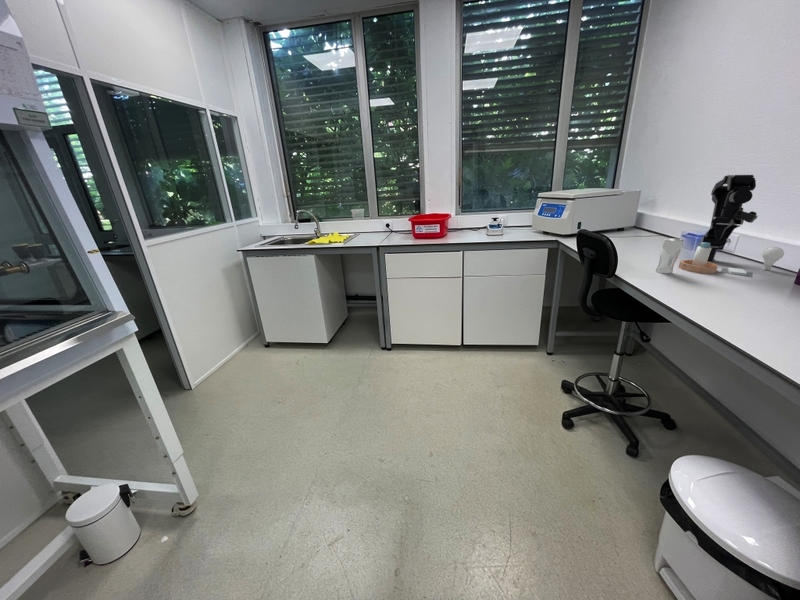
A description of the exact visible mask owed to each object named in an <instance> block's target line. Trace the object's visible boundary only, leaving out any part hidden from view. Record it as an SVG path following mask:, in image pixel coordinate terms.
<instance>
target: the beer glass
mask: <svg viewBox="0 0 800 600" xmlns="http://www.w3.org/2000/svg"><path fill="white" fill-rule="evenodd" d="M684 242H685V241H684V239H681V238H676V237H674V238H673V237H665V238H664V240H663V242H662V244H661V248H660V252H659V262H658V265H657V266H656V268H655V272H656V273H659V274H663V273H664V275H665V274H666V275H672V274H673V270H674V266H675V263H676V261H677V259H679V256H680V254H681V253H682V252H681V251H682V249H683V245H684ZM671 273H672V274H671Z"/></svg>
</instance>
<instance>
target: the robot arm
mask: <svg viewBox="0 0 800 600" xmlns="http://www.w3.org/2000/svg"><path fill="white" fill-rule="evenodd" d="M756 181H757V180H756V178H755V177H754V174H731V175H730V174H728V175H724V177H723V178H722V179H721V180H719V181H718V182H716V183H715V184H714V186H713V187H712V190H711V192H710V195H711V202H713V203H714V207H713V211H712V216H711V221H710V227H709V229H708V230H707V231H706V233H705V234H704V235H703V236H702V238H701V239H700V241H699V243H698V246H701V243H702V242H706V243H711V244H710V247H711V248H712V249H711V252H710V254H709V257H708V260H707V262H710V263H714V262H715V256H716V254H717V252H718V250H720V251H723V250H724V247H725V245H726V244H727V243H728V239H729V238H730V236H731V235H732V234H733V232H734V230H735V229H737V228H739V227H741V226H742V225H743V224H744V221H745V223H746V222H747V223H749V224H753V223H754V222H755V220H757V218H759V217H758V215H757V212H756V211H753V210H752V211H750V212H747V211H744V207H743V204H745V203H748V202H750V201H751V200H752V198H753V192H752V191H754V190H755V188H756V186H757V183H756ZM698 246H697V247H698Z"/></svg>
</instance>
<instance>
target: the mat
mask: <svg viewBox="0 0 800 600" xmlns="http://www.w3.org/2000/svg"><path fill="white" fill-rule="evenodd" d="M745 271H746V270H745ZM720 273H721V274H727V275H733V276H739V277H745V278H746V277H747V278H753V276H754V275H753V274H754V271H746V273H747V275H738V274H730V272H729V271H728V268H725V267H722V268H721V270H720Z"/></svg>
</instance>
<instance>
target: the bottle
mask: <svg viewBox="0 0 800 600" xmlns="http://www.w3.org/2000/svg"><path fill="white" fill-rule="evenodd" d="M710 244H711V243H706V242H702V243H701V246H697V247H696V250H695V252H694V257H693V259H692V260H693V262H692V264H691V265H695V266H701V267H705V266H706V263H707V262H708V261H707V260H708V257H709V254H710V252H711V249H712V248H711V247H710Z"/></svg>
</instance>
